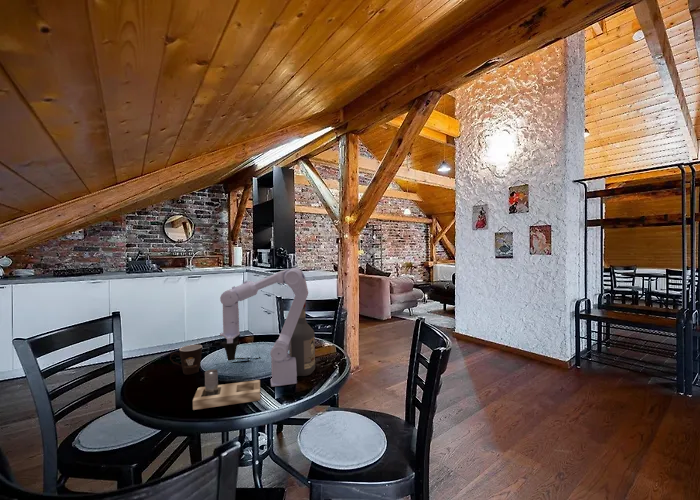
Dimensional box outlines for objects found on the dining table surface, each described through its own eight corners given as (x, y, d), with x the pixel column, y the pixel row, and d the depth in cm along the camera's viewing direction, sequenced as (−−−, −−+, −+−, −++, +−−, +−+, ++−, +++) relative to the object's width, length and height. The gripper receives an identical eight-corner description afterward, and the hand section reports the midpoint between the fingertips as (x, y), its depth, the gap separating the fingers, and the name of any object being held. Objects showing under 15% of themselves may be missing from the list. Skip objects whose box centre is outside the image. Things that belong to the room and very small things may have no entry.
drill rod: (218, 397, 115) (218, 368, 114) (217, 402, 111) (216, 373, 110) (206, 398, 113) (205, 370, 113) (204, 404, 110) (203, 374, 109)
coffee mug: (206, 367, 142) (206, 344, 142) (195, 375, 133) (194, 351, 133) (181, 367, 143) (180, 344, 143) (168, 375, 135) (167, 350, 134)
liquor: (287, 375, 132) (286, 301, 132) (296, 366, 141) (295, 297, 140) (308, 377, 130) (307, 301, 129) (316, 368, 139) (315, 297, 138)
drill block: (260, 387, 121) (259, 379, 121) (260, 400, 112) (260, 391, 112) (198, 396, 115) (198, 387, 115) (192, 409, 106) (192, 400, 106)
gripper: (221, 317, 130) (222, 351, 131) (217, 326, 117) (218, 364, 117) (240, 316, 132) (241, 349, 133) (238, 325, 118) (239, 362, 119)
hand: (232, 356), depth 125 cm, fingers open, 7 cm apart
